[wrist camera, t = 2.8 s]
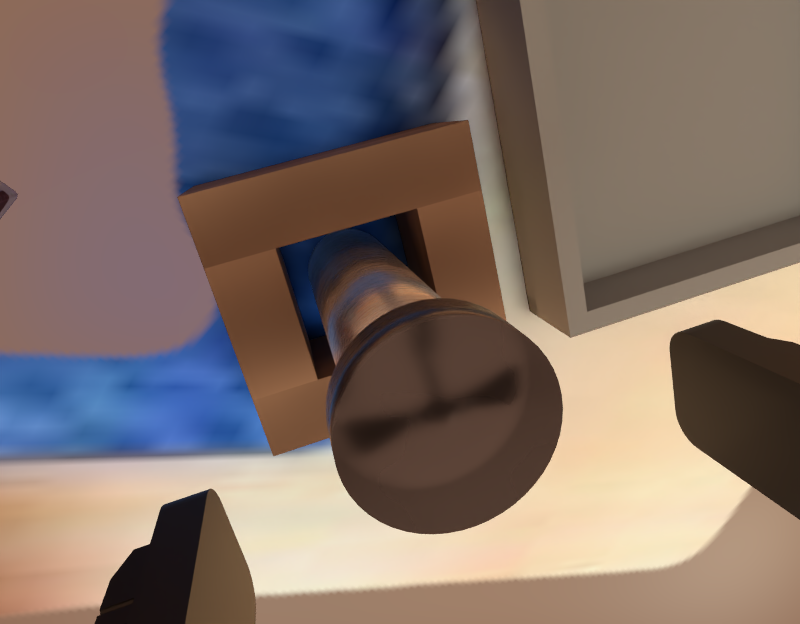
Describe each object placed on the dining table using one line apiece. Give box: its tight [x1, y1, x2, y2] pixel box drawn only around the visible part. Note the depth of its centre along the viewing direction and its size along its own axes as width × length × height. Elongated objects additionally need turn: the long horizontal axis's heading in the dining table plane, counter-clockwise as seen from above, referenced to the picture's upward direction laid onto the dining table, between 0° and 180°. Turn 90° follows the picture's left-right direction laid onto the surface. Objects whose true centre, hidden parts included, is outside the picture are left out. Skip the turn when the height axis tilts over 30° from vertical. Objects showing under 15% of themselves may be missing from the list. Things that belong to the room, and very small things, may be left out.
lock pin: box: [308, 229, 563, 534], centre depth 16 cm, size 4×4×13 cm
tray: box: [476, 0, 800, 338], centre depth 21 cm, size 16×16×4 cm
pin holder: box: [178, 120, 506, 456], centre depth 20 cm, size 9×9×4 cm
